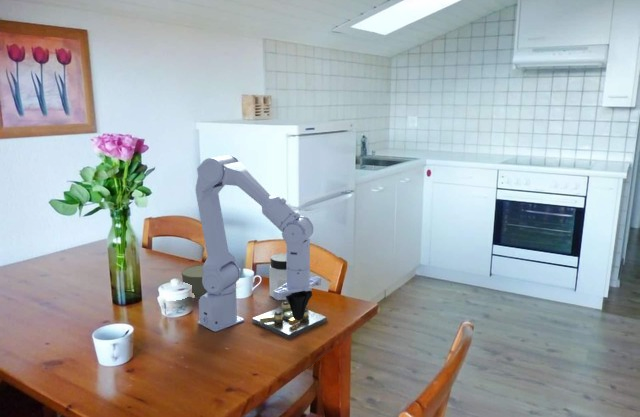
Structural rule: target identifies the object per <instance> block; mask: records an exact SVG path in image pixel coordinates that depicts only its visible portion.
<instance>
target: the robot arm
mask: <svg viewBox="0 0 640 417" xmlns="http://www.w3.org/2000/svg"><path fill="white" fill-rule="evenodd" d="M196 171H197V176H198V177H197V180H196V184H195V195H196V202H197V207H198V211H199V216H200V222H201V229H202V233H203V239H204V244H205V249H206V250H205V251H206V255H207V257H206V259H205V262H204V263H203V264H204V265H203V264H202V265H203V278H202V283H203V286H204V288H205V289H206V290H207V293H206V294H205V295H203V296H201V297H200V299H198V315H199V317H198V318H199V319H198V321H197V323H198V324H199V325H201V326H202V327H203V326H204V327H205V328H207V329H209V330H211V331H213V332H214V333H215V332H219V331H222V330H225V329H227V328H228V327H231V326H234V325H237V324H240V323H241V322H244V321H245V319H244V318H243V317H241V316H239V315H238V309H237V308H238V307H237V306H238V304H237V282H238V281H239V280H240V277H241V269H240V267H239V265H238V263H236V257H235V255H233V254H232V253H231V252H230V251H229V247H228V246H229V245H228V242H227V235H226V229H225V224H224V218H223V213H222V208H221V203H220V202H221V201H220V196H219V193H220V192H221V191H222V190H223V189H224V187H225V186H234V187H239V189H240V190H242V191H243V192H244V193H245V194H247V195H248V196H249V197H250V198H251V199H253V200H254V201H255V202H256V203H258V204H257V205H260V206H261V214H262V215H263V216H265V218H266V219H268V220H269V221H270V222H271V223H272V224H273V225H274V226H275V227H276V228H277V229H278V230H279V231H280V232H281V236H282V239H283V241H284V242H285V244H286V258H287V283H285V284H284V285H283V286H281V287H280V288H278V289H277V290H274V298H273V299H274V300H277V301H282V300H281V299H282V298H283V297H286V299H287V300H286V301H288V302H289V304H290V307H291V310H292V314H293V318H294V319H296V320H302V319H303V316H304V312H305V309H307V306H308V303H309V301H310V299H311V297H312V296H313V291H312V290H313V288H312V287H315V286H318V287H319V286H321V285H322V277H320V276H318V275H317V276H316V275H315V276H311V275H310V274H311V273H310V272H311V270H310V269H311V246H310V245H311V241H310V240H311V239H310V238H311V236H312V235H313V234H314V226H313V223H312V221H311V220H310V219H309V218H308V217H307V216H303V215H301V214H300V213H299V212H296V211H295V210H294V209H292V207H290V206H289V205H288V204H287V200H286V199H285V198H284V197H280V196H272V195H271V194H270V193H269V192H268V191H267V190H266V189H265V188H264V187H263V186H262V184H260V183H259V182H258V180H257V179H256V178H255V177H253V175H252V174H251V172H249V171H248V170H247V168H246V166H245V165H244V163H243V162H241V161H240V160H238V158H237V157H236V156H235V155H232V154H224V155H222V156H216V157H208V158H206V159H204V160H203V161H202V162H201V163H200V165H199V166H198V167H197V168H196Z"/></svg>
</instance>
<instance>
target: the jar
mask: <svg viewBox="0 0 640 417" xmlns="http://www.w3.org/2000/svg"><path fill="white" fill-rule="evenodd" d="M268 269H269V270H268V271H269V272H268V274H269V275H268V277H269V296H270V297H272V298H273V299H275V298H274V290H277V289H278V288H280V287H281V286H283V285H284V284H285V283H287V258H286V253H277V254H273V255H271V256H270V265H269V267H268ZM280 301H288V300H287V299H286V297H283V298H282V299H281V300H280Z"/></svg>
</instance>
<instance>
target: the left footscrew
mask: <svg viewBox="0 0 640 417" xmlns="http://www.w3.org/2000/svg"><path fill="white" fill-rule="evenodd" d="M270 322H275V323H282V322H283V313H282V312H281V311H276V312H275V313H274V315H271V316H263V317H260V323H261V324H262V323H270Z"/></svg>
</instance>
